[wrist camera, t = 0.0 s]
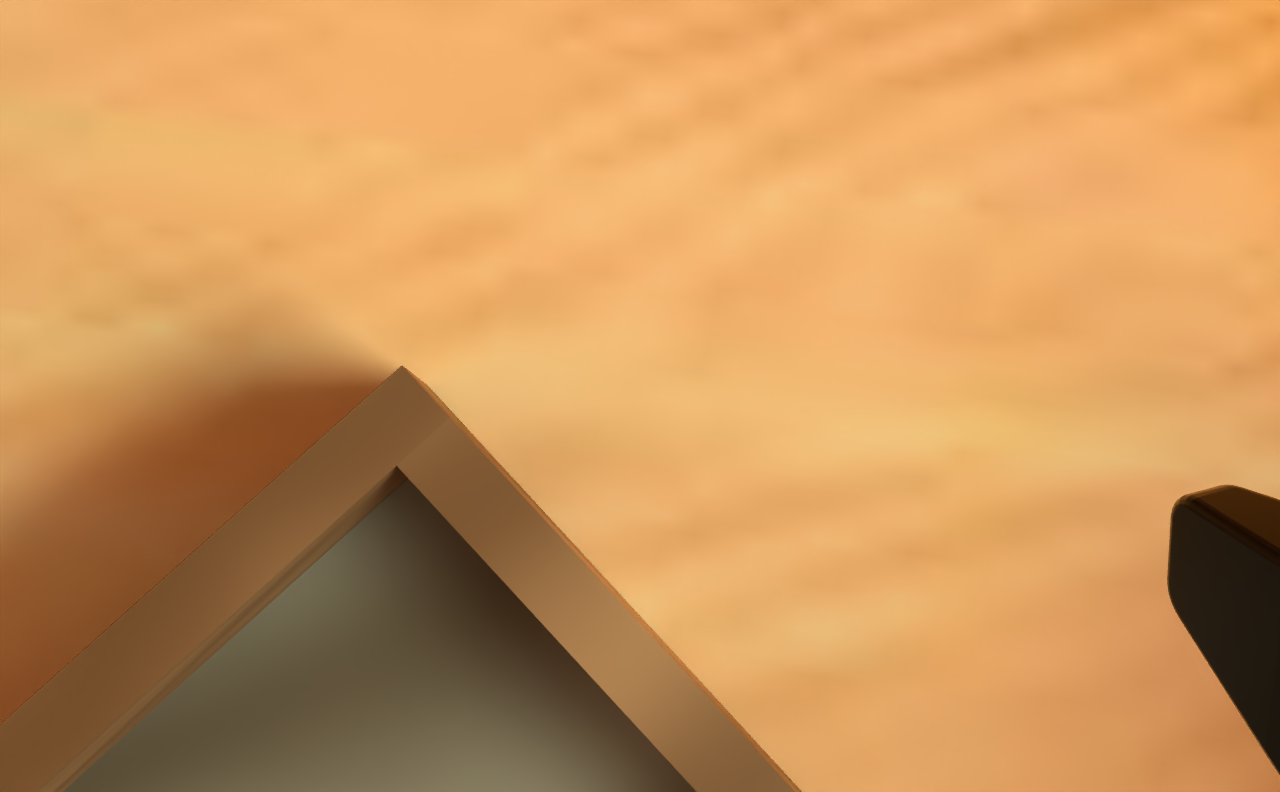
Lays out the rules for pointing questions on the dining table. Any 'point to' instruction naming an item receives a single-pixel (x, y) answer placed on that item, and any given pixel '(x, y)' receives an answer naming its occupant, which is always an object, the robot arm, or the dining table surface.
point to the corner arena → (382, 647)
